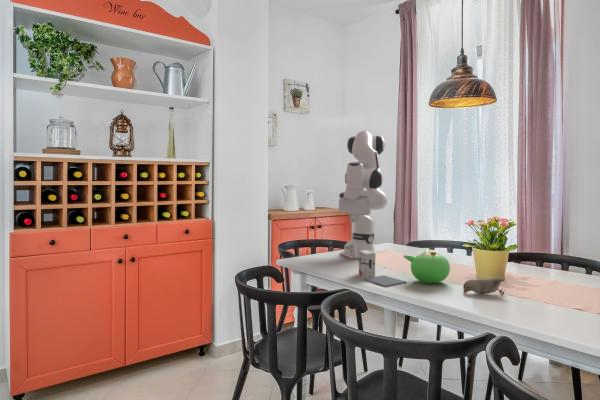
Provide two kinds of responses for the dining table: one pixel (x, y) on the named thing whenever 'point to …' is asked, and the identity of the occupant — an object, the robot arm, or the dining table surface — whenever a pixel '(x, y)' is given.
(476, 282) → the decorative bird
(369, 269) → the ink box
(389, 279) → the mat
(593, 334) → the dining table surface
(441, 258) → the green teapot
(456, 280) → the dining table surface
